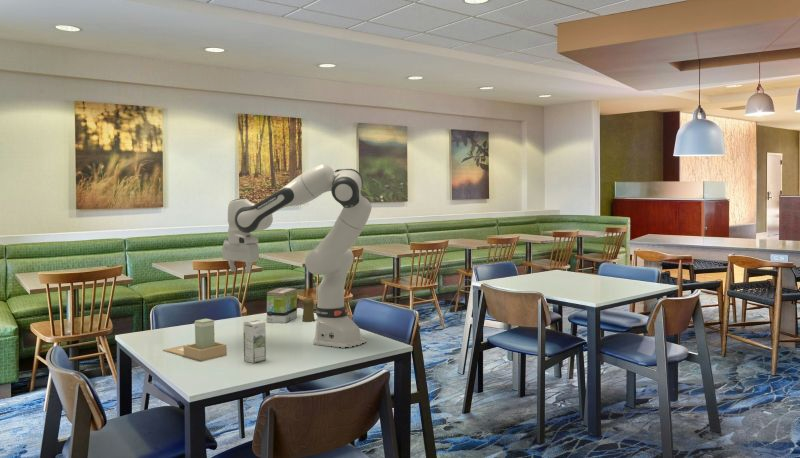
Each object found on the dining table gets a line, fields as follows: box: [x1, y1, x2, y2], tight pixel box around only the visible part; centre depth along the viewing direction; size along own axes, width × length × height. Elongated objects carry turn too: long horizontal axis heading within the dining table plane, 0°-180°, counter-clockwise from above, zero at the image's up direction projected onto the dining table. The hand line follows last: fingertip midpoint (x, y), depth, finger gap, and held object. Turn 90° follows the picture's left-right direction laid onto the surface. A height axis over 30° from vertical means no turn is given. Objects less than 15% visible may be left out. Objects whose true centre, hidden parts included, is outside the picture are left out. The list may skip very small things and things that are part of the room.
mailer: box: [162, 341, 228, 362], centre depth 238 cm, size 26×11×4 cm, turn 51°
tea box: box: [266, 287, 298, 324], centre depth 300 cm, size 15×10×15 cm, turn 168°
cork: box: [301, 297, 315, 323], centre depth 297 cm, size 6×6×11 cm
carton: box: [194, 318, 216, 350], centre depth 233 cm, size 5×5×13 cm
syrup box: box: [243, 319, 267, 364], centre depth 225 cm, size 6×6×14 cm
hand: (240, 272), depth 254 cm, fingers open, 8 cm apart
